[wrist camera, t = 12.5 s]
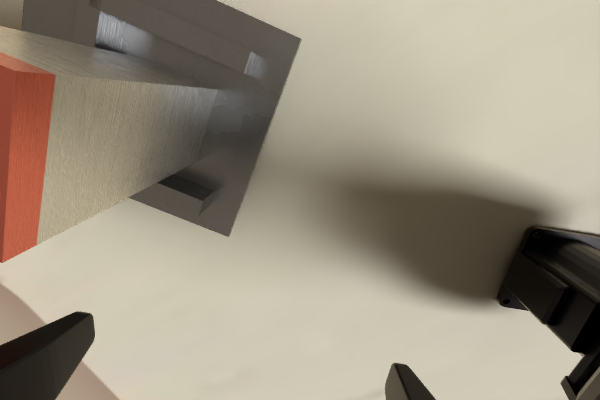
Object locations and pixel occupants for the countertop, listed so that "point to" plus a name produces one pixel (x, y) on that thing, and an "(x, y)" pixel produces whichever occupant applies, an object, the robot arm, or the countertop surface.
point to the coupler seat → (197, 65)
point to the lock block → (86, 132)
